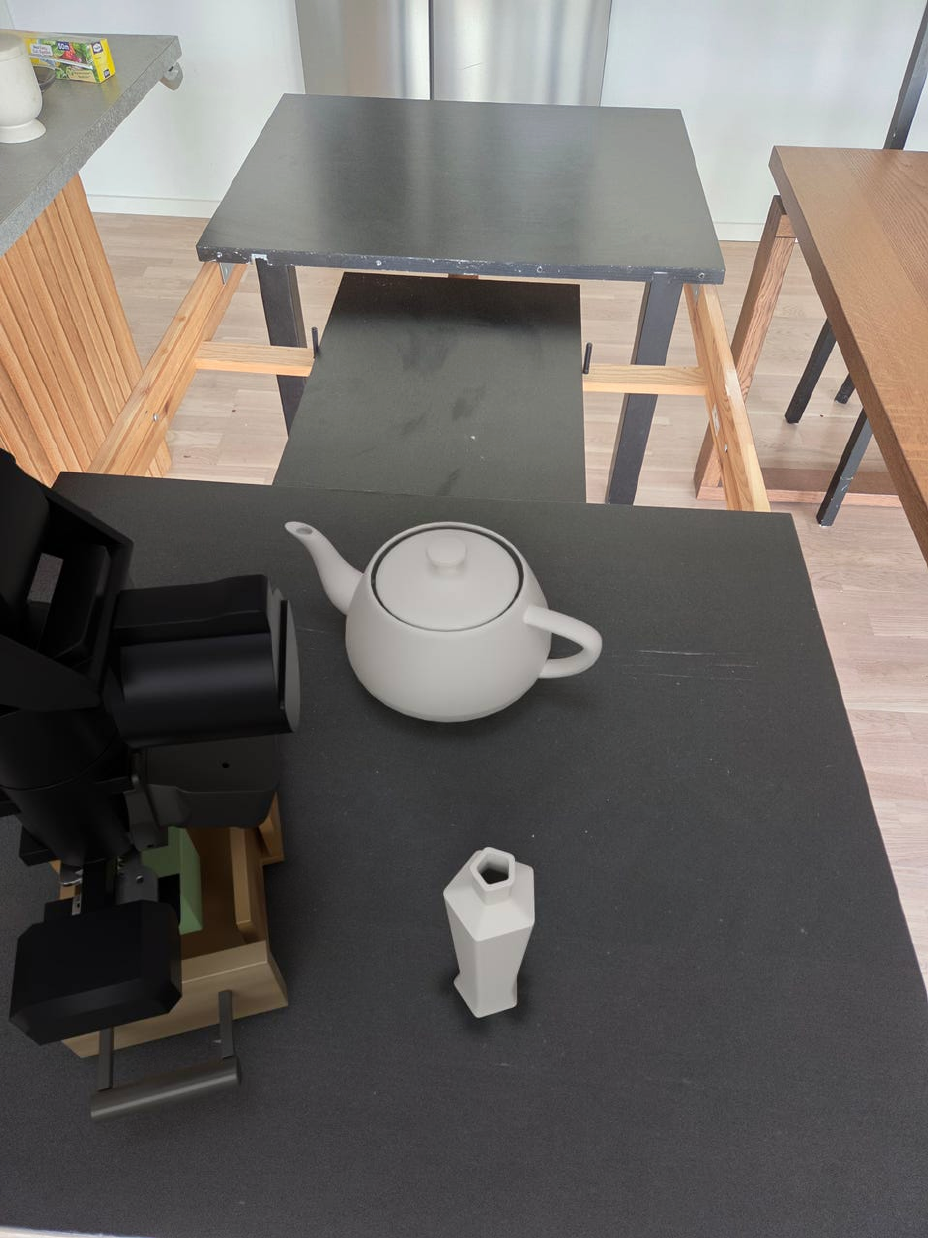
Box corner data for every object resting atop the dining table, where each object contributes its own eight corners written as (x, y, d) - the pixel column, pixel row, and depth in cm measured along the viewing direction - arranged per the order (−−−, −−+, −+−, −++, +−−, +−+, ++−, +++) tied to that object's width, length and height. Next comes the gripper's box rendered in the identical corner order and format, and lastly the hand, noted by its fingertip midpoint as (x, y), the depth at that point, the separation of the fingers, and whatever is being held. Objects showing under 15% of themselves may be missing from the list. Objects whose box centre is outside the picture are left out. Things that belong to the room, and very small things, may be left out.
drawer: (298, 1095, 45) (276, 1059, 40) (75, 1156, 43) (24, 1126, 38) (267, 803, 57) (248, 747, 52) (92, 841, 55) (54, 786, 50)
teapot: (621, 638, 68) (644, 524, 59) (554, 793, 58) (570, 685, 49) (350, 552, 75) (333, 437, 66) (251, 678, 65) (216, 564, 56)
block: (119, 950, 45) (91, 916, 42) (121, 874, 48) (95, 836, 44) (203, 930, 46) (182, 895, 42) (200, 856, 48) (180, 818, 45)
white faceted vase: (449, 943, 51) (444, 822, 40) (521, 945, 51) (536, 824, 40) (446, 1023, 48) (439, 915, 37) (522, 1025, 48) (539, 919, 37)
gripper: (268, 896, 29) (325, 1034, 41) (234, 544, 42) (285, 727, 53) (-73, 975, 28) (86, 1096, 39) (-4, 584, 40) (102, 763, 51)
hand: (154, 894), depth 46 cm, fingers closed on block, 4 cm apart
